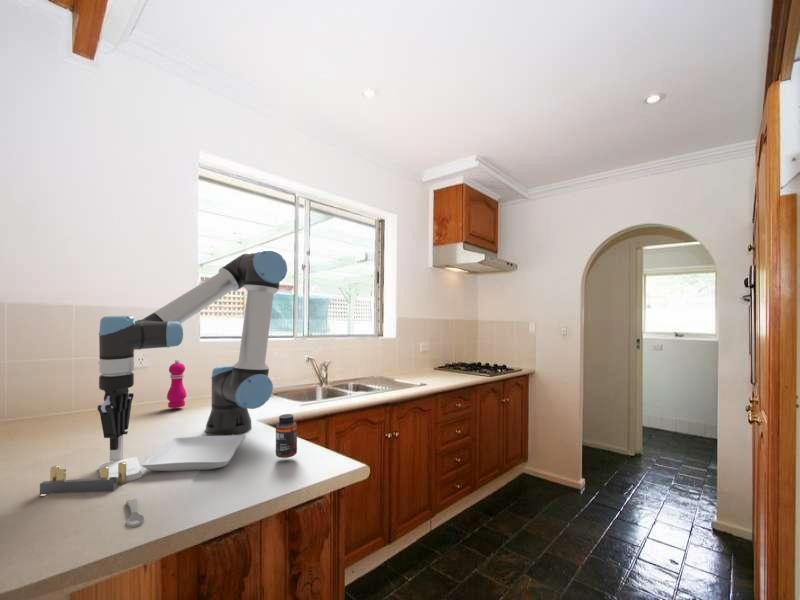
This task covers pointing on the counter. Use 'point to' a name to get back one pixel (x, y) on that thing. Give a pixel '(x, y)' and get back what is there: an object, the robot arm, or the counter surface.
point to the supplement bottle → (286, 436)
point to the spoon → (134, 514)
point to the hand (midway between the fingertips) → (116, 460)
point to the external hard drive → (131, 468)
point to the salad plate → (194, 453)
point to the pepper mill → (176, 386)
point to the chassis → (82, 481)
